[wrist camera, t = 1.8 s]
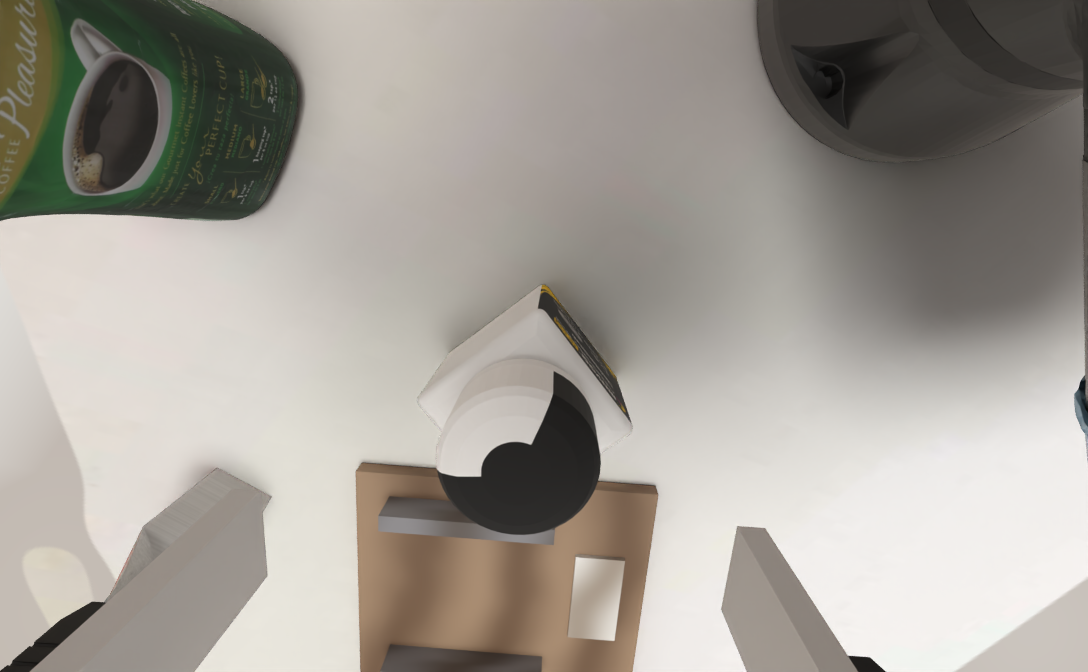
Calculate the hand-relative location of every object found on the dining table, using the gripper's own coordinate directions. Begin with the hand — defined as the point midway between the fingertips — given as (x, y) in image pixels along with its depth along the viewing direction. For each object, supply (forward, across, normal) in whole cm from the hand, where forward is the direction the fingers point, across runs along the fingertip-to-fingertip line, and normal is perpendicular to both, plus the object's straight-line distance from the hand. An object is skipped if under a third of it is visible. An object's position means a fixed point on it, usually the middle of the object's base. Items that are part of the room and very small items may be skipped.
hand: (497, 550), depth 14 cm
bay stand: (+16, -1, -22) cm, 27 cm away
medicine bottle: (+16, 0, 0) cm, 16 cm away
